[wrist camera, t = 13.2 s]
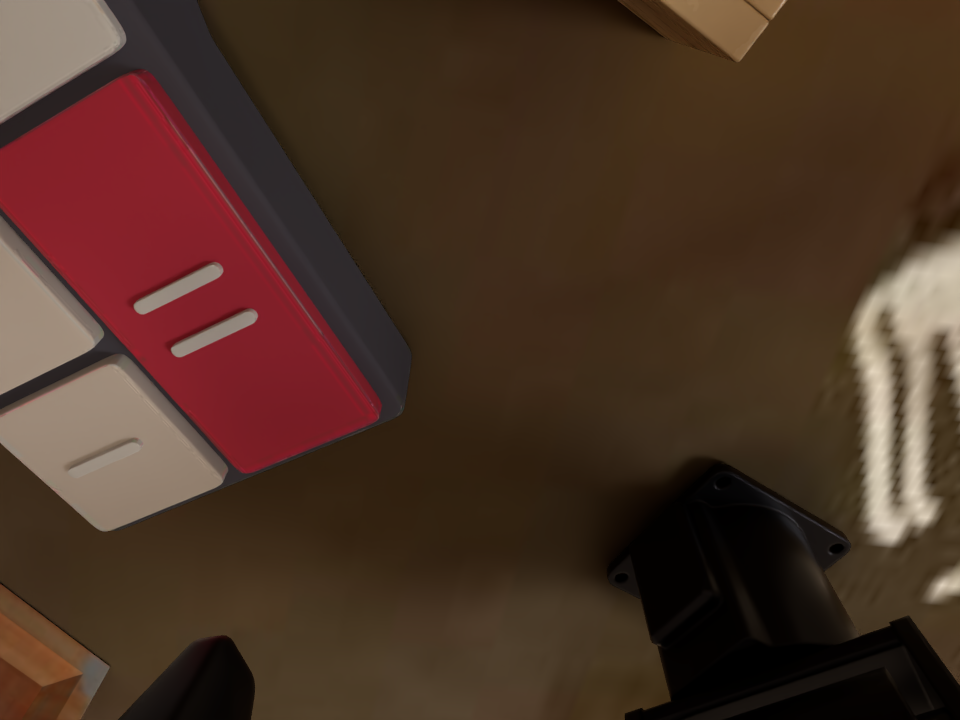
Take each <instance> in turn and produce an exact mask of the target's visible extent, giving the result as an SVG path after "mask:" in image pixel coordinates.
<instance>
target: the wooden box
mask: <svg viewBox="0 0 960 720" xmlns="http://www.w3.org/2000/svg"><path fill="white" fill-rule="evenodd" d="M109 668H110V666H108V665H107V664H106V663H104V662H103V661H102V660H100V659H99V658H98V657H96V656H95V655H94V654H92V653H91V652H90V651H88V650H87V649H86V648H84V647H83V646H82V645H80V644H79V643H78V642H77V641H75V640H74V639H73V638H71V637H70V636H69V635H67V634H66V633H65V632H63V631H62V630H61V629H59V628H58V627H57V626H55V625H54V624H53V623H51V622H50V621H49V620H48V619H46V618H45V617H44V616H42V615H41V614H40V613H38V612H37V611H36V610H34V609H33V608H32V607H30V606H29V605H28V604H26V603H25V602H24V601H22V600H21V599H20V598H19V597H17V596H16V595H15V594H13V593H12V592H11V591H9V590H8V589H7V588H5V587H4V586H3V585H1V584H0V720H81V718H82V716H83V714H84V713H85V711H86V709H87V707H88V705H89V704H90V702H91V700H92V698H93V696H94V695H95V693H96V691H97V689H98V688H99V686H100V684H101V682H102V680H103V679H104V677H105V675H106V673H107V671H108V670H109Z"/></svg>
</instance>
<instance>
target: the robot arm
mask: <svg viewBox="0 0 960 720" xmlns="http://www.w3.org/2000/svg"><path fill="white" fill-rule="evenodd" d="M722 477H726V479H724V480H723V481H717V480H718V479H720V478H722ZM834 544H835V545H834ZM850 548H851V544H850V542H849V540H848V539H847V537H846V536H845V534H844V533H843V532H841V531H839V530H838V529H836V528H834V527H833V526H831V525H829V524H828V523H826V522H824V521H822V520H821V519H819V518H817V517H816V516H814V515H812V514H811V513H809V512H807V511H806V510H804V509H802V508H800V507H799V506H797V505H795V504H794V503H792V502H790V501H789V500H787V499H785V498H784V497H782V496H780V495H778V494H777V493H775V492H773V491H772V490H770V489H768V488H767V487H765V486H763V485H762V484H760V483H758V482H757V481H755V480H753V479H751V478H750V477H748V476H746V475H745V474H743V473H741V472H740V471H738V470H736V469H735V468H733V467H731V466H729V465H726V464H718V465H715V466H713V467H712V468H710V469H709V470H708V471H707V472H706V473H705V474H704V475H703V476H701V477H700V478H699V479H698V480H697V481H696V482H695V483H694V484H693V485H692V486H691V487H690V488H689V489H688V490H687V491H686V492H685V493H684V494H683V495H682V496H681V497H679V498H678V499H677V500H676V501H675V502H674V503H673V504H672V505H671V506H670V507H669V508H668V509H667V510H666V511H665V512H664V513H663V514H662V515H661V516H660V517H658V518H657V519H656V520H655V521H654V522H653V523H652V524H651V525H650V526H649V527H648V528H647V529H646V530H645V531H644V532H643V533H642V534H641V535H640V536H639V537H638V538H636V539H635V540H634V541H633V542H632V543H631V544H630V545H629V546H628V547H627V548H626V549H625V550H624V551H623V552H622V553H621V554H620V555H619V556H618V557H617V558H616V559H615V560H614V561H612V562H611V563H610V564H609V566H608V567H607V576H608V580H609V582H610V584H612V585H613V586H615V587H617V588H619V589H621V590H623V591H625V592H627V593H629V594H631V595H633V596H635V597H637V598H639V599H641V602H642V606H643V610H644V615H645V619H646V623H647V627H648V631H649V635H650V639H651V641H652V643H654V644H656V645H657V646H658V650H659V654H660V658H661V662H662V666H663V670H664V674H665V678H666V682H667V686H668V690H669V694H670V698H671V701H670V702H667V703H664V704H661V705H658V706H655V707H652V708H649V709H647V710H643V709H642V708H640V709H637V710H634V711H631V712H628V713H625V720H960V685H959V684H958V683H957V681H956V680H955V678H954V677H953V676H952V674H951V673H950V672H949V670H948V669H947V667H946V666H945V665H944V663H943V662H942V661H941V659H940V658H939V656H938V655H937V654H936V652H935V651H934V650H933V648H932V647H931V645H930V644H929V643H928V641H927V640H926V639H925V637H924V636H923V634H922V633H921V632H920V630H919V629H918V628H917V626H916V625H915V623H914V622H913V621H912V619H911V618H910V617H909V616H906V617H903V618H900V619H897V620H894V621H891V622H889V623H890V625H891V626H888V627H885V628H882V629H879V630H876V631H873V632H870V633H867V634H865V635H862V636H860V635H859V633H858V632H857V630H856V628H855V626H854V624H853V623H852V621H851V619H850V617H849V616H848V614H847V612H846V610H845V608H844V607H843V605H842V603H841V601H840V600H839V598H838V596H837V594H836V592H835V591H834V589H833V587H832V585H831V584H830V582H829V580H828V578H827V576H826V575H825V573H824V571H825V570H827V569H828V568H829V567H831V566H832V565H833V564H834V563H836V562H837V561H838V560H839V559H841V558H842V557H843V556H845V555H846V554H847V553H848V552H849V551H850ZM619 573H623V574H619ZM618 574H619V575H618ZM254 695H255V683H254V678H253V675H252V672H251V671H250V669H249V667H248V665H247V664H246V662H245V660H244V659H243V657H242V655H241V654H240V652H239V650H238V649H237V647H236V645H235V644H234V642H233V641H232V639H231V638H229V637H227V636H223V635H221V636H214V637H207V638H201V639H198V640H195V641H194V642H192V643H191V644H190V645H189V646H188V647H187V648H186V649H185V650H184V651H183V652H182V653H181V654H180V655H179V656H178V657H177V658H176V659H175V660H174V662H173V663H172V664H171V665H170V666H169V667H168V668H167V669H166V670H165V671H164V672H163V673H162V674H161V675H160V676H159V677H158V678H157V679H156V680H155V681H154V682H153V684H152V685H151V686H150V687H149V688H148V689H147V690H146V691H145V692H144V693H143V694H142V695H141V696H140V697H139V698H138V699H137V700H136V701H135V702H134V703H133V704H132V706H131V707H130V708H129V709H128V710H127V711H126V712H125V713H124V714H123V715H122V716H121V717H120V718H119V719H118V720H251V715H252V709H253V702H254Z"/></svg>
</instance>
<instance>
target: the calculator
mask: <svg viewBox="0 0 960 720" xmlns="http://www.w3.org/2000/svg"><path fill="white" fill-rule="evenodd" d="M411 360H412V354H411V351H410V349H409V347H408V345H407V344H406V342H405V341H404V339H403V338H402V336H401V334H400V333H399V331H398V330H397V328H396V327H395V325H394V323H393V322H392V320H391V319H390V317H389V316H388V314H387V312H386V311H385V309H384V308H383V306H382V305H381V303H380V301H379V300H378V298H377V297H376V295H375V294H374V292H373V290H372V289H371V287H370V286H369V284H368V283H367V281H366V279H365V278H364V276H363V275H362V273H361V272H360V270H359V268H358V267H357V265H356V264H355V262H354V261H353V259H352V257H351V256H350V254H349V253H348V251H347V250H346V248H345V246H344V245H343V243H342V242H341V240H340V239H339V237H338V235H337V234H336V232H335V231H334V229H333V228H332V226H331V225H330V223H329V221H328V220H327V218H326V217H325V215H324V214H323V212H322V210H321V209H320V207H319V206H318V204H317V203H316V201H315V199H314V198H313V196H312V195H311V193H310V192H309V190H308V188H307V187H306V185H305V184H304V182H303V181H302V179H301V177H300V176H299V174H298V173H297V171H296V170H295V168H294V166H293V165H292V163H291V162H290V160H289V159H288V157H287V155H286V154H285V152H284V151H283V149H282V148H281V146H280V144H279V143H278V141H277V140H276V138H275V137H274V135H273V133H272V132H271V130H270V129H269V127H268V126H267V124H266V122H265V121H264V119H263V118H262V116H261V115H260V113H259V111H258V110H257V108H256V107H255V105H254V104H253V102H252V100H251V99H250V97H249V96H248V94H247V93H246V91H245V89H244V88H243V86H242V85H241V83H240V82H239V80H238V79H237V77H236V75H235V74H234V72H233V71H232V69H231V68H230V66H229V64H228V63H227V61H226V60H225V58H224V57H223V55H222V53H221V52H220V50H219V49H218V47H217V46H216V44H215V42H214V41H213V39H212V37H211V35H210V33H209V30H208V28H207V25H206V23H205V20H204V18H203V15H202V13H201V10H200V8H199V5H198V2H197V0H0V443H1V444H2V445H3V446H4V447H5V448H6V449H8V450H9V451H10V452H11V453H12V454H13V455H14V456H15V457H17V458H18V459H19V460H20V461H21V462H22V463H23V464H24V465H26V466H27V467H28V468H29V469H30V470H31V471H32V472H33V473H34V474H36V475H37V476H38V477H39V478H40V479H41V480H42V481H43V482H45V483H46V484H47V485H48V486H49V487H50V488H51V489H52V490H54V491H55V492H56V493H57V494H58V495H59V496H60V497H61V498H63V499H64V500H65V501H66V502H67V503H68V504H69V505H70V506H72V507H73V508H74V509H75V510H76V511H77V512H78V513H79V514H80V515H82V516H83V517H84V518H85V519H86V520H87V521H88V522H89V523H91V524H92V525H93V526H94V527H96V528H97V529H98V530H101V531H110V530H111V531H118V530H121V529H124V528H127V527H129V526H132V525H134V524H137V523H139V522H142V521H144V520H147V519H149V518H152V517H154V516H156V515H159V514H161V513H164V512H166V511H169V510H171V509H174V508H176V507H179V506H181V505H183V504H186V503H188V502H191V501H193V500H196V499H198V498H201V497H203V496H206V495H208V494H210V493H213V492H215V491H218V490H220V489H223V488H225V487H228V486H230V485H233V484H235V483H238V482H240V481H242V480H245V479H247V478H250V477H252V476H255V475H257V474H260V473H262V472H265V471H267V470H269V469H272V468H274V467H277V466H279V465H282V464H284V463H287V462H289V461H292V460H294V459H296V458H299V457H301V456H304V455H306V454H309V453H311V452H314V451H316V450H319V449H321V448H323V447H326V446H328V445H331V444H333V443H336V442H338V441H341V440H343V439H346V438H348V437H350V436H353V435H355V434H358V433H360V432H363V431H365V430H368V429H370V428H373V427H375V426H377V425H380V424H382V423H385V422H387V421H390V420H392V419H394V418H396V417H398V416H400V415H401V414H402V412H403V410H404V407H405V401H406V395H407V388H408V381H409V375H410V368H411Z"/></svg>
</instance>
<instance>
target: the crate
mask: <svg viewBox="0 0 960 720" xmlns="http://www.w3.org/2000/svg"><path fill="white" fill-rule="evenodd" d="M618 1H619V2H620V3H621V4H623V5H624V6H625V7H626V8H628V9H629V10H630V11H632V12H633V13H634V14H635V15H637V16H638V17H639V18H640V19H642V20H643V21H644V22H646V23H647V24H648V25H649V26H651V27H652V28H653V29H654V30H656V31H657V32H658V33H660V34H661V35H662V36H663V37H665V38H666V39H668V40H671V41H674V42H677V43H680V44H683V45H686V46H689V47H692V48H695V49H698V50H701V51H704V52H707V53H710V54H713V55H716V56H719V57H722V58H725V59H728V60H731V61H734V62H739V61H741V59H742V58H743V57H744V55H745V54H746V53H747V51H748V50H749V49H750V48H751V46H752V45H753V44H754V42H755V41H756V40H757V39H758V37H759V36H760V35H761V33H762V32H763V31H764V30H765V28H766V27H767V26H768V23H769V22H768V20H771V19H773V18H774V17H775V15H776V14H777V13H778V11H779V10H780V9H781V7H782V6H783V5H784V4H785V2H786V1H787V0H618Z"/></svg>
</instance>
